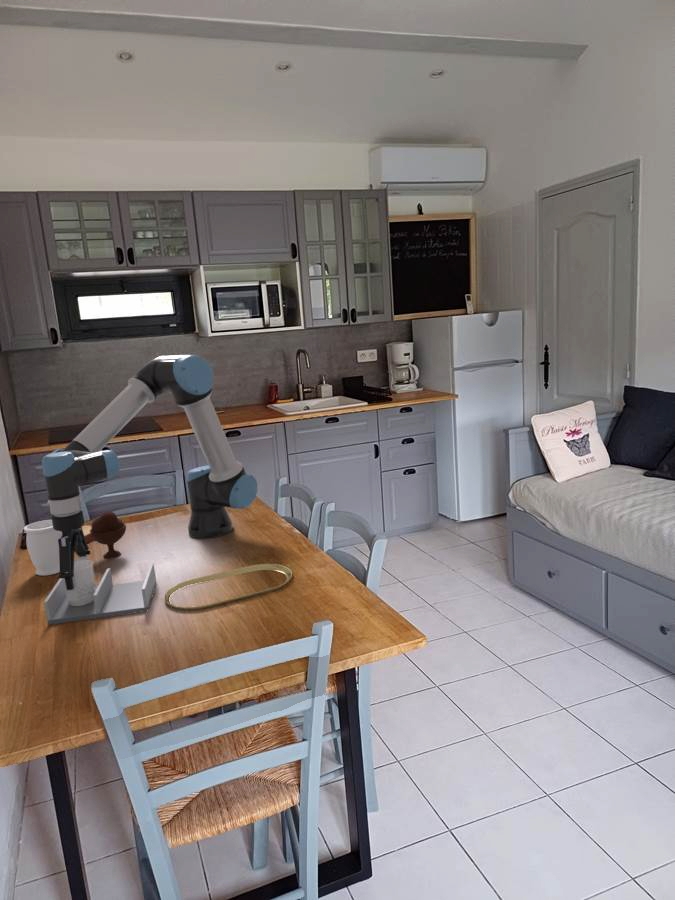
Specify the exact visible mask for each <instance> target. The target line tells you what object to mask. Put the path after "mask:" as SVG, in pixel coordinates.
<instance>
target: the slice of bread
mask: <svg viewBox="0 0 675 900" xmlns="http://www.w3.org/2000/svg"><path fill="white" fill-rule="evenodd" d="M91 525H92V524H91ZM91 525H90V524H85V525H83V526H82V530H83V533H84V536H85V539H86V542H87V544H88V543H90V542H92V541H94V540H95V539H94V538H93V537H92V535H91V533H90V530H91Z"/></svg>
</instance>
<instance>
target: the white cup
mask: <svg viewBox="0 0 675 900" xmlns="http://www.w3.org/2000/svg"><path fill="white" fill-rule="evenodd" d="M66 573H68V572H66ZM74 575H75V576H76V582H77V588H78V594H79V600H75V601H68V602H69V605H71V606H83V605H87V604H89V603H91V602H93V601H94V597H93V595H94V593H95V587H96V584H95V583H96V582H95V581H96V580H95V571H94V562H93V561H92V560H89V559H88V560H80V561H77V560H74ZM63 583H64V579H63ZM64 587H65V584H64ZM65 591H66V590H65Z"/></svg>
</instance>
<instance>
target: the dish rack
mask: <svg viewBox="0 0 675 900" xmlns="http://www.w3.org/2000/svg"><path fill="white" fill-rule="evenodd" d="M146 572H147V573H146V575H145V578H144V580H140V581H132V582H131V581H130V582H124V583H116V584H114V583H113V578H112V573H111V568H110V567H109V568H106V569H105V572H104V574H103V576H102V578H101V580H100V582H99V584H98V585H97V586H95V593H94V595H93V597H94V601H93V602H91V603H89V604H87V605H83V606H71V605H69V602H68V601H67V596H66V591H65V587H64V583H63V578H61V579H60V578H59V579H58V580H57V582H56V583H55V585H54V586H53V588H52V590H51V591H50V592H49V594H48V595H47V597H46V598H45V600H44V601H43V605H44V611H45V615H46V616H45V617H46V620H47V621H46V622H47V625H48V626H49V625H57V624H65V623H72V622H79V621H87V620H95V619H102V618H108V617H107V616H110V617H116V616H115V615H117V616H123V615H122V614H125V615H129V613H132V614H135V613H134V612H139V613H141V612H140V611H147V610H148V609H150V607H149V605H150V606H151V603H152V600H153V597H152V595H153V596H154V593H155V590H156V586H157V577H156V570H155V563H154V562H150V564H149V567H148V569H147V571H146ZM154 589H155V590H154ZM153 592H154V593H153ZM151 599H152V600H151ZM150 602H151V603H150ZM148 611H149V610H148ZM148 611H147V612H148Z"/></svg>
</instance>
